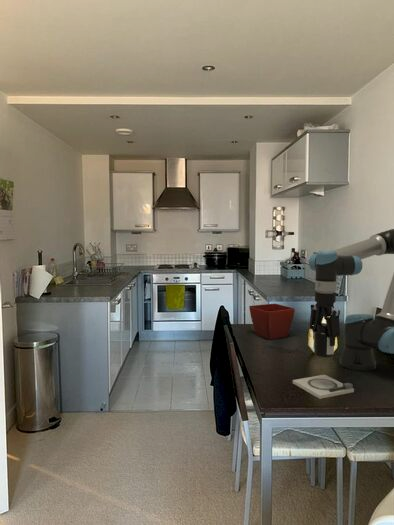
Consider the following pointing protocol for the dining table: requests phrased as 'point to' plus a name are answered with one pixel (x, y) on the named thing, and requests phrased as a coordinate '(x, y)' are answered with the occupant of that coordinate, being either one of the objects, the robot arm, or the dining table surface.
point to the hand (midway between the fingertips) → (323, 351)
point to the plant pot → (271, 320)
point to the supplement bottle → (321, 340)
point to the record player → (323, 386)
